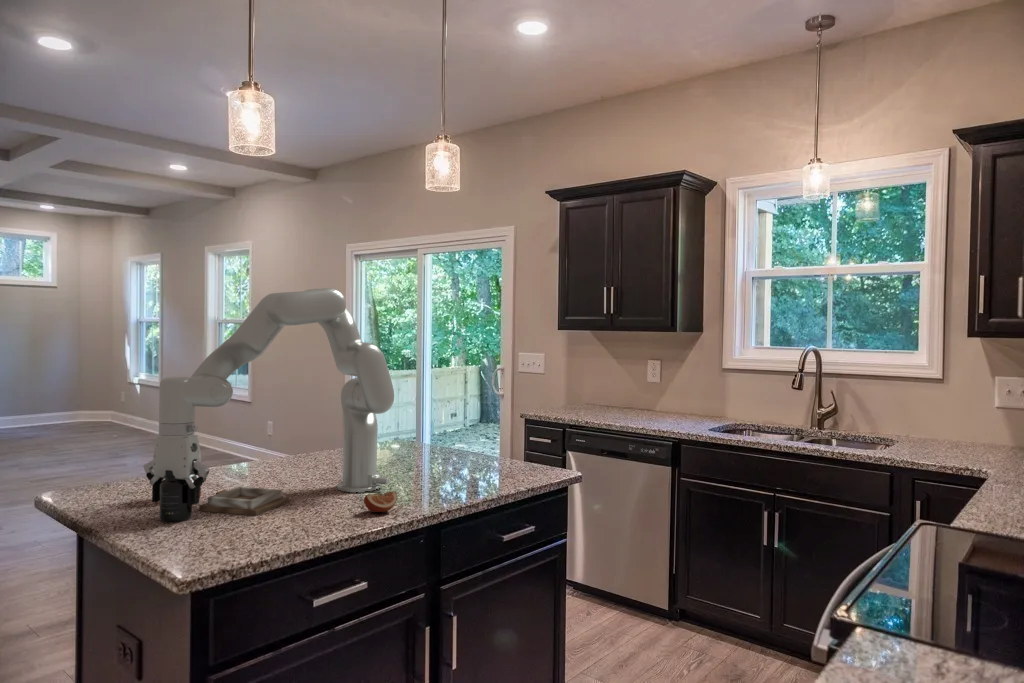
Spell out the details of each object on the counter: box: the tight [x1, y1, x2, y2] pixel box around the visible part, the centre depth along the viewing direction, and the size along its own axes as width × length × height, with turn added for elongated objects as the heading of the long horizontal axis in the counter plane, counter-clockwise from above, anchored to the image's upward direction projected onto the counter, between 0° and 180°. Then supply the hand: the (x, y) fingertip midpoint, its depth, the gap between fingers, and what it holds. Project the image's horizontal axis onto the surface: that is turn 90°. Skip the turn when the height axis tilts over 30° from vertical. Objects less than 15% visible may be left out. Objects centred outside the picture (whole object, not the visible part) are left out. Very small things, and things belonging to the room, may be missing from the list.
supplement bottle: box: [158, 470, 193, 524], centre depth 156 cm, size 7×7×12 cm
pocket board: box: [198, 486, 290, 516], centre depth 169 cm, size 16×14×3 cm
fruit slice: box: [363, 490, 398, 513], centre depth 165 cm, size 8×7×5 cm
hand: (175, 502), depth 156 cm, fingers open, 9 cm apart
